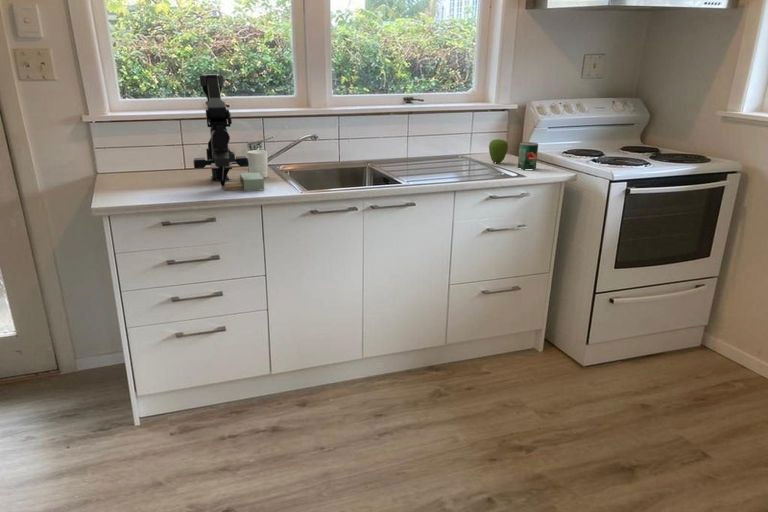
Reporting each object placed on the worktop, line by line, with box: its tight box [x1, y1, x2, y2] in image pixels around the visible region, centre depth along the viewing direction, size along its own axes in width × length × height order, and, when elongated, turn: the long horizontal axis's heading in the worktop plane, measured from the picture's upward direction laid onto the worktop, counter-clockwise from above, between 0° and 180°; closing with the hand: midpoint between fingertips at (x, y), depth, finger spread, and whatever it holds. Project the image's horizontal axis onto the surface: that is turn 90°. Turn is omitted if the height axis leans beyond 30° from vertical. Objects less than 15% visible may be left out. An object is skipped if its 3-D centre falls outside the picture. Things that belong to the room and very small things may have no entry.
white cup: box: [246, 149, 269, 179], centre depth 232 cm, size 8×8×10 cm
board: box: [223, 181, 244, 191], centre depth 214 cm, size 7×10×2 cm
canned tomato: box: [517, 141, 539, 170], centre depth 255 cm, size 8×8×11 cm
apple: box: [488, 138, 509, 164], centre depth 266 cm, size 9×8×12 cm
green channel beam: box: [239, 172, 265, 192], centre depth 215 cm, size 12×7×4 cm, turn 20°
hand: (222, 185), depth 212 cm, fingers closed
